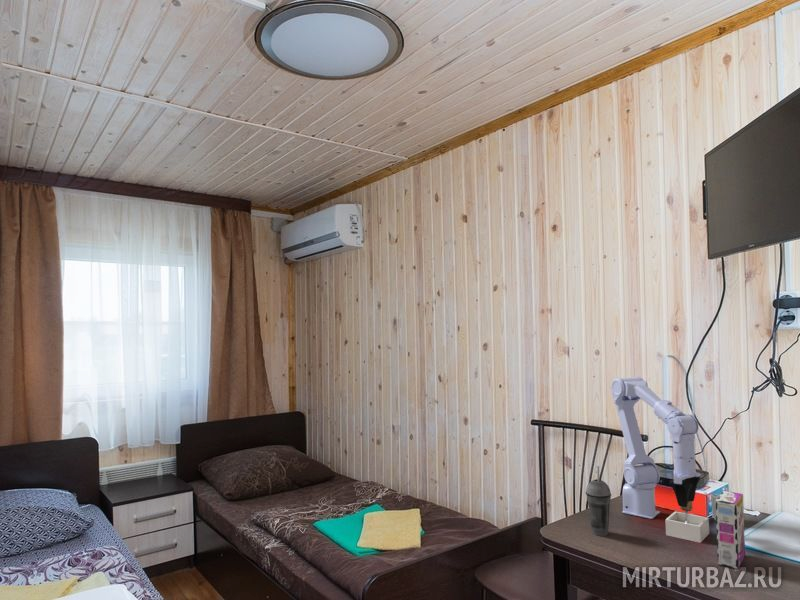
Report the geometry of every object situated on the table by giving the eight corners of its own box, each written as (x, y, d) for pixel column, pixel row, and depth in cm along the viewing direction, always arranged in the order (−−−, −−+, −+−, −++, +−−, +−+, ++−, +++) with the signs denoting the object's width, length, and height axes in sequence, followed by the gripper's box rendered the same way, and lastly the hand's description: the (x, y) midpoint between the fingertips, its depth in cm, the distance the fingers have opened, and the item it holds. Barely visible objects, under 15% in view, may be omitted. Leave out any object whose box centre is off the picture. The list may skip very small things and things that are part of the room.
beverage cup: (609, 528, 169) (606, 462, 170) (616, 537, 162) (613, 468, 163) (584, 528, 170) (582, 462, 171) (590, 537, 162) (587, 468, 163)
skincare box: (742, 524, 170) (741, 500, 170) (722, 524, 170) (721, 500, 171) (730, 517, 176) (729, 494, 176) (711, 518, 176) (710, 494, 177)
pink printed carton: (740, 570, 139) (736, 503, 140) (717, 565, 142) (714, 500, 143) (746, 555, 148) (743, 492, 148) (725, 551, 151) (722, 489, 152)
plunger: (670, 529, 163) (669, 501, 163) (678, 522, 168) (676, 495, 169) (697, 535, 158) (696, 506, 159) (704, 528, 164) (703, 500, 164)
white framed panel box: (666, 535, 163) (665, 519, 163) (677, 524, 171) (677, 509, 171) (700, 542, 157) (699, 526, 157) (711, 531, 165) (710, 515, 165)
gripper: (691, 463, 156) (694, 512, 156) (705, 453, 167) (708, 499, 166) (665, 459, 161) (667, 507, 160) (680, 450, 172) (682, 495, 171)
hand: (686, 503), depth 164 cm, fingers open, 6 cm apart
